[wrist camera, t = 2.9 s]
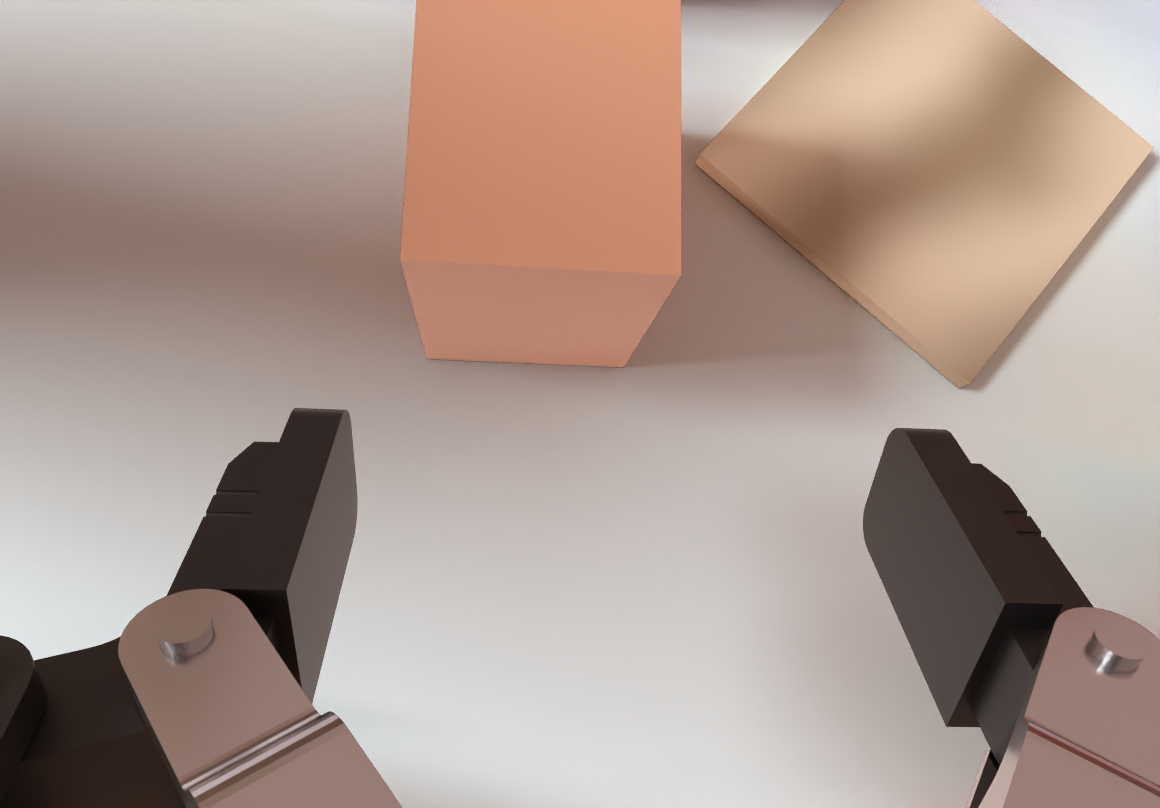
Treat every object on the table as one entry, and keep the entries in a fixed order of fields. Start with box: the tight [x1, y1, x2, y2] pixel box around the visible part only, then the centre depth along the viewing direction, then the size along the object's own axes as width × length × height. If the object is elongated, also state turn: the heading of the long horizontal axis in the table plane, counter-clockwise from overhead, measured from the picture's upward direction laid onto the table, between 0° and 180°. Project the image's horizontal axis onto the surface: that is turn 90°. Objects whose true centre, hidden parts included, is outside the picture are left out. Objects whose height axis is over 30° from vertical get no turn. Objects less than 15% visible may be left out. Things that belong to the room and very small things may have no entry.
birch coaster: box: [695, 0, 1154, 388], centre depth 27 cm, size 10×10×1 cm
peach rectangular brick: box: [400, 0, 682, 368], centre depth 21 cm, size 7×5×8 cm
